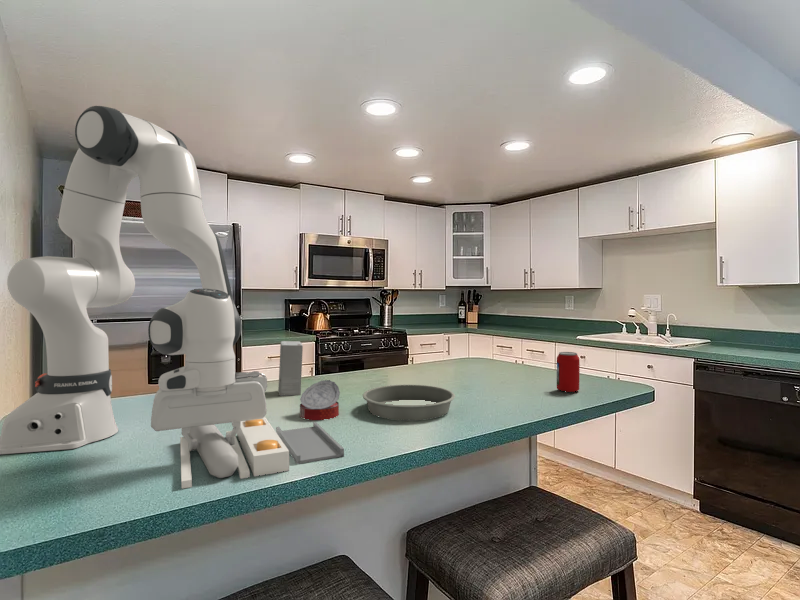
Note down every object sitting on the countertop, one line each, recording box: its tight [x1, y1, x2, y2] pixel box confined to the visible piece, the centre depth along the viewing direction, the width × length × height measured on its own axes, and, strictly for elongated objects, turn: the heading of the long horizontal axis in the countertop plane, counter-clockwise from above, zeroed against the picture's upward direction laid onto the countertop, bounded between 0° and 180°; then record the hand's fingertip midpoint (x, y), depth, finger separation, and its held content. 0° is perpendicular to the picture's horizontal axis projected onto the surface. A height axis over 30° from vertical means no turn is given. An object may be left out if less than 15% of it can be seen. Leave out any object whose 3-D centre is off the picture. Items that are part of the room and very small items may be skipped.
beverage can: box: [556, 351, 581, 393], centre depth 146 cm, size 7×7×12 cm
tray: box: [275, 421, 345, 465], centre depth 96 cm, size 9×20×2 cm, turn 26°
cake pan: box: [362, 384, 456, 421], centre depth 124 cm, size 25×25×4 cm
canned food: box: [299, 379, 341, 421], centre depth 119 cm, size 11×10×10 cm
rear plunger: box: [245, 419, 263, 427], centre depth 100 cm, size 4×4×4 cm
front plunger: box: [257, 440, 277, 451], centre depth 85 cm, size 4×4×4 cm
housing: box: [179, 416, 290, 489], centre depth 90 cm, size 17×25×4 cm
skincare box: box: [277, 340, 304, 397], centre depth 145 cm, size 8×7×16 cm
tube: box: [188, 424, 238, 479], centre depth 89 cm, size 5×5×25 cm
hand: (211, 447), depth 88 cm, fingers open, 5 cm apart
